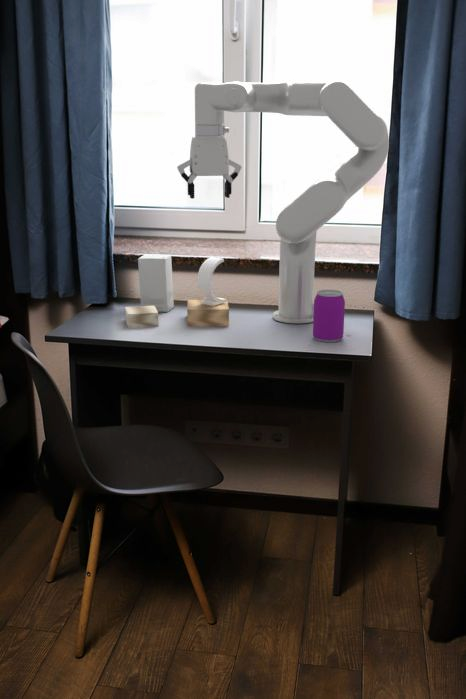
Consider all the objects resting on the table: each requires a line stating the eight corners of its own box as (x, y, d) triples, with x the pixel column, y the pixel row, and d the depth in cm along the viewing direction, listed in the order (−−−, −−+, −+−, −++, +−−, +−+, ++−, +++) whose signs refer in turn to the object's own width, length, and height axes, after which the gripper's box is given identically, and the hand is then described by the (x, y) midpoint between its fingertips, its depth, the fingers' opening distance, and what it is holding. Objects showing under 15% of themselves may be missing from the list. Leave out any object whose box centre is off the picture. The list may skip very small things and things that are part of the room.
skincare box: (174, 307, 232) (173, 254, 227) (167, 313, 226) (166, 258, 221) (146, 305, 234) (145, 253, 229) (139, 311, 228) (137, 257, 223)
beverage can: (341, 334, 205) (343, 289, 202) (344, 343, 198) (347, 296, 194) (311, 334, 206) (313, 288, 202) (313, 343, 198) (315, 295, 195)
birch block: (154, 319, 220) (154, 305, 219) (158, 327, 213) (158, 312, 211) (125, 321, 218) (125, 306, 217) (128, 328, 211) (127, 314, 210)
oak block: (227, 317, 224) (227, 299, 222) (228, 327, 213) (228, 309, 212) (187, 317, 223) (187, 299, 222) (187, 327, 213) (187, 309, 211)
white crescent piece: (226, 302, 218) (223, 258, 214) (210, 307, 214) (207, 262, 210) (214, 299, 221) (211, 256, 217) (198, 304, 217) (195, 260, 213)
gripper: (237, 131, 216) (237, 195, 221) (174, 131, 213) (175, 196, 218) (244, 132, 209) (244, 198, 214) (179, 132, 206) (180, 200, 211)
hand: (209, 197), depth 216 cm, fingers open, 9 cm apart
